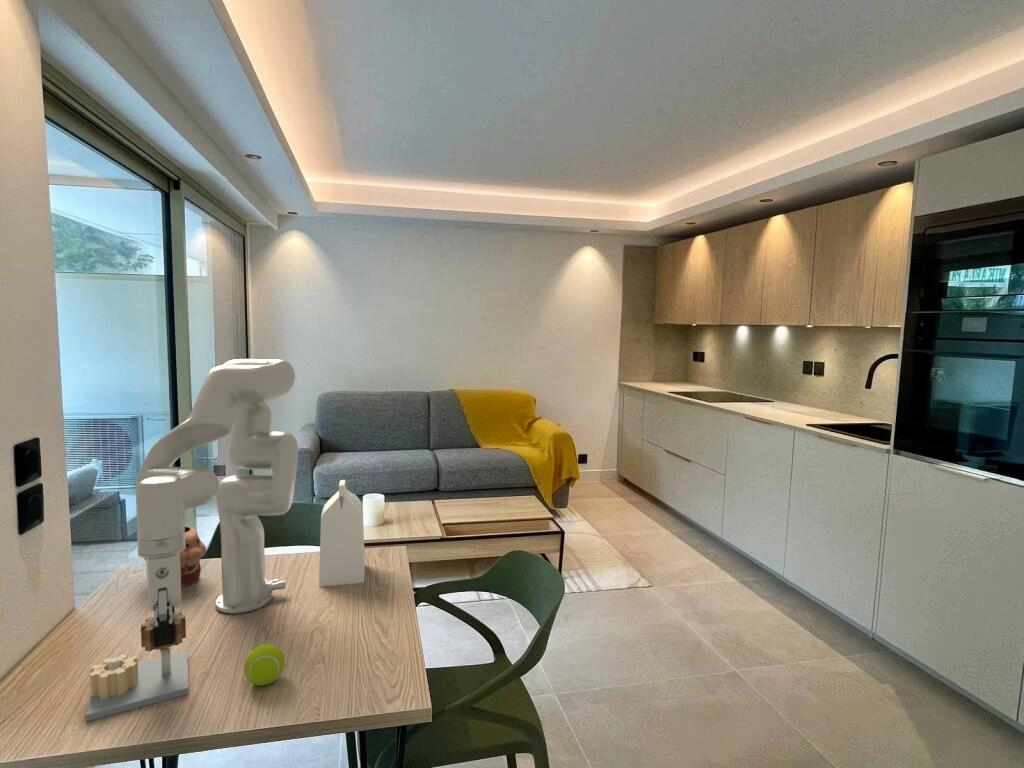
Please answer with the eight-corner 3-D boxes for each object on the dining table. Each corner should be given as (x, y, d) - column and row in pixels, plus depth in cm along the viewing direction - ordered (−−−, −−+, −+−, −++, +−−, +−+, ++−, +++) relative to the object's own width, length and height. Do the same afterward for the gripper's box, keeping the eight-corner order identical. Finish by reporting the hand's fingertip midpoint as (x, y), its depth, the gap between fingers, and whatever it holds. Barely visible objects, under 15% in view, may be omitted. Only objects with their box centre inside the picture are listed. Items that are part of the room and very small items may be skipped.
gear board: (187, 656, 114) (186, 627, 113) (188, 693, 102) (187, 662, 101) (96, 678, 106) (94, 647, 105) (85, 721, 94) (84, 688, 93)
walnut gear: (185, 627, 110) (185, 608, 110) (186, 644, 104) (185, 624, 104) (142, 637, 106) (141, 617, 106) (140, 655, 100) (139, 634, 100)
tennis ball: (246, 675, 108) (245, 640, 107) (285, 668, 110) (284, 634, 110) (243, 697, 101) (242, 660, 101) (284, 689, 104) (283, 653, 103)
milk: (322, 568, 158) (321, 478, 156) (364, 564, 161) (364, 476, 159) (318, 586, 146) (317, 489, 144) (364, 582, 149) (363, 487, 147)
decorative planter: (123, 585, 145) (121, 533, 144) (164, 567, 157) (163, 518, 156) (183, 596, 139) (181, 542, 138) (221, 577, 151) (220, 527, 150)
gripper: (186, 555, 98) (188, 651, 100) (184, 526, 113) (187, 611, 114) (134, 563, 94) (138, 663, 96) (140, 532, 109) (143, 620, 111)
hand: (164, 634), depth 105 cm, fingers closed on walnut gear, 7 cm apart
